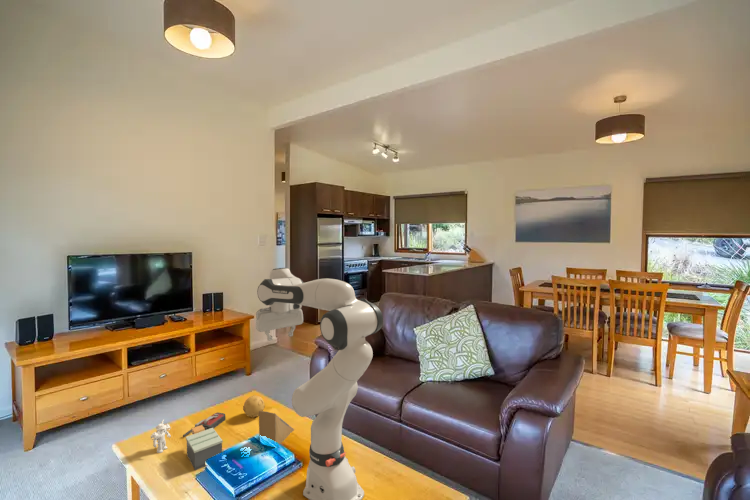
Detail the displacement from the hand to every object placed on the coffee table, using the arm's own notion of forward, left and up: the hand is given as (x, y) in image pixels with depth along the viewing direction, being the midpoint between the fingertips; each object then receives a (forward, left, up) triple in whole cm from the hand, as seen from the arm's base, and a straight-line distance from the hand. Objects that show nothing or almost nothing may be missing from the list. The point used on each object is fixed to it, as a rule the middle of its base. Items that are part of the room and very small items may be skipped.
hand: (280, 338), depth 148 cm
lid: (+15, +27, -41) cm, 51 cm away
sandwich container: (+7, -2, -47) cm, 47 cm away
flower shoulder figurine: (+30, +39, -47) cm, 68 cm away
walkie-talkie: (+36, +20, -47) cm, 63 cm away
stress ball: (+31, -1, -47) cm, 56 cm away
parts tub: (+13, +27, -47) cm, 55 cm away
